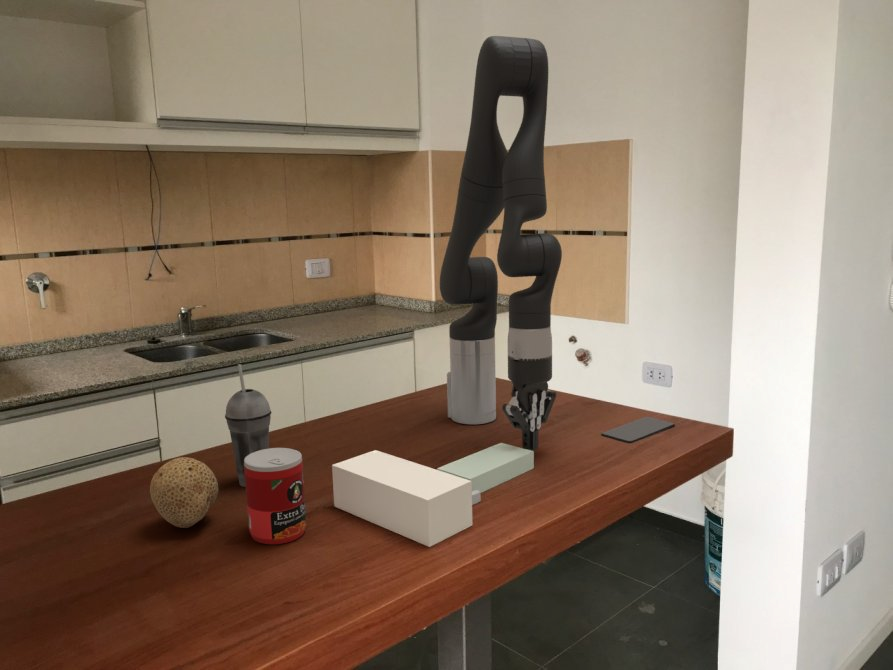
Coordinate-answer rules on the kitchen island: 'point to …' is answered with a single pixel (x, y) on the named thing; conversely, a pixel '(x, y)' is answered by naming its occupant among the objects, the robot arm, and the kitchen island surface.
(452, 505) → the cream rectangular prism
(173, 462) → the natural sponge
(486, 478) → the sage green bar
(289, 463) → the canned food
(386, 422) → the kitchen island surface
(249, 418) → the beverage cup
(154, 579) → the kitchen island surface
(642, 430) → the smartphone
